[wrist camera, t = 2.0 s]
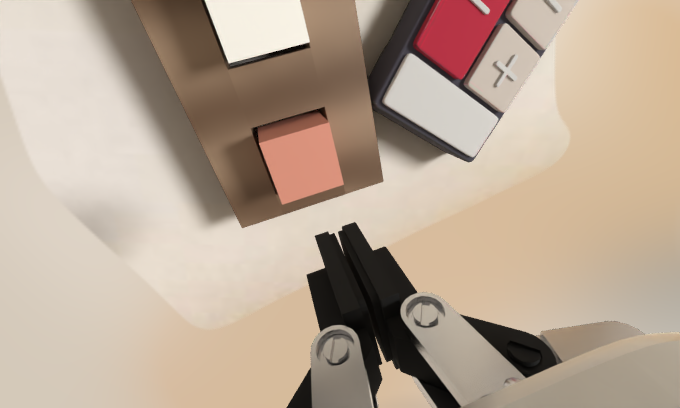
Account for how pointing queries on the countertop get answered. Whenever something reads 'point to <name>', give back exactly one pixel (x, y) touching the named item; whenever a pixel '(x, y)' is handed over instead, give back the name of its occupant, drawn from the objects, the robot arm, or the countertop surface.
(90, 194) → the countertop surface
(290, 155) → the salmon pink key
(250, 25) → the white key
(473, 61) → the calculator
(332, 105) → the key panel
